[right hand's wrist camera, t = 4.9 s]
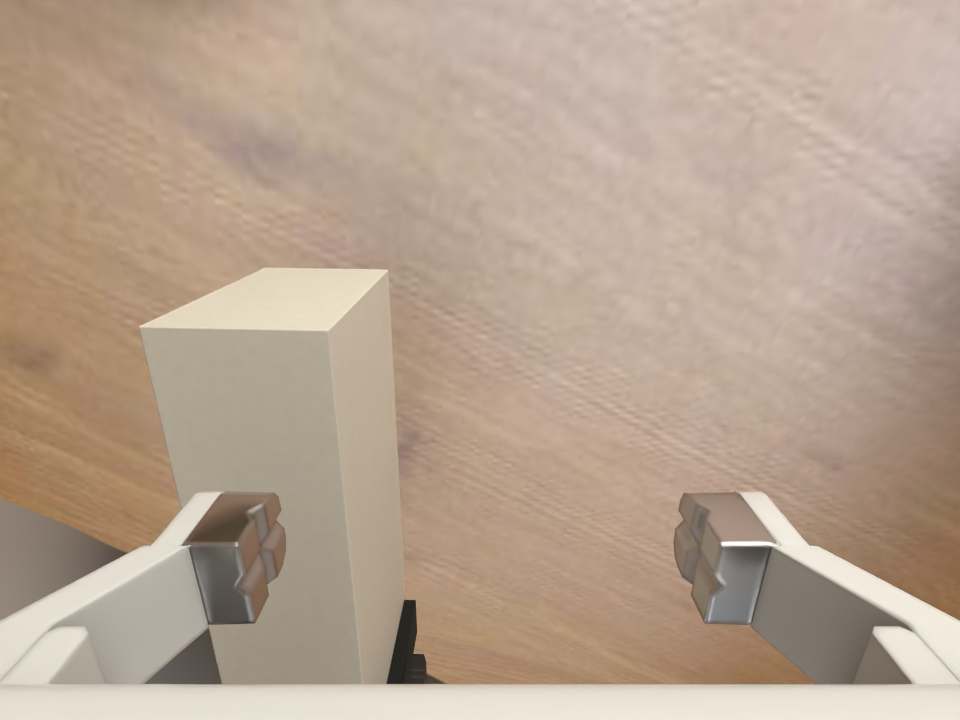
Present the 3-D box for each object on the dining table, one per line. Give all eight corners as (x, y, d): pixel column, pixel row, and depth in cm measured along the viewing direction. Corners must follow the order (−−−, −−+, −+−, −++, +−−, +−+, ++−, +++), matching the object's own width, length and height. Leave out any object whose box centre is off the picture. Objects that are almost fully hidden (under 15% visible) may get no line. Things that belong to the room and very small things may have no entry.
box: (264, 267, 27) (137, 326, 17) (388, 269, 27) (328, 329, 17) (317, 650, 36) (253, 823, 27) (408, 654, 36) (377, 828, 27)
